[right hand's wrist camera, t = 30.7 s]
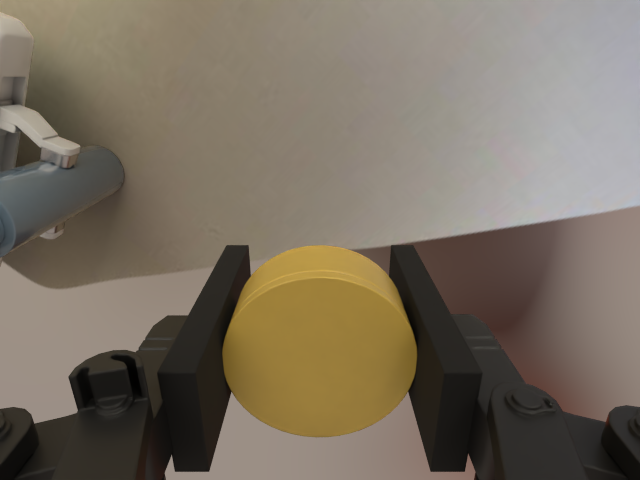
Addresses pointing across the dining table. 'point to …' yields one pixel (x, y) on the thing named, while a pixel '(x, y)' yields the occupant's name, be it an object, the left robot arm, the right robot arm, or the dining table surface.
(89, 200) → the blue tall cylinder
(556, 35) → the dining table surface
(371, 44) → the dining table surface
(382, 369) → the lid
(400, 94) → the dining table surface
